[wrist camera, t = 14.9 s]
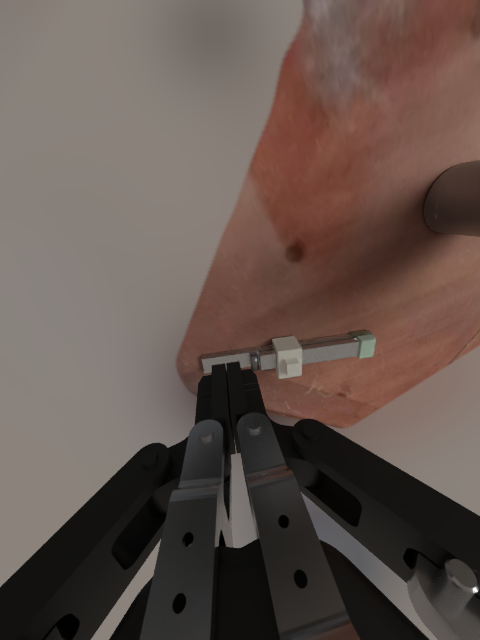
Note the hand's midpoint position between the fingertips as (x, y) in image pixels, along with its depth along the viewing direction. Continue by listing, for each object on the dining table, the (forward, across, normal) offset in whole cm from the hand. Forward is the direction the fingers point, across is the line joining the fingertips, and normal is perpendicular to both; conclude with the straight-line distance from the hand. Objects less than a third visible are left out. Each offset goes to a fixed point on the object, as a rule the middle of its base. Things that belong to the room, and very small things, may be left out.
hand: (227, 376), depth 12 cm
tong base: (+25, -10, +16) cm, 31 cm away
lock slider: (+25, -10, +16) cm, 31 cm away
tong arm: (+23, -15, +16) cm, 32 cm away
